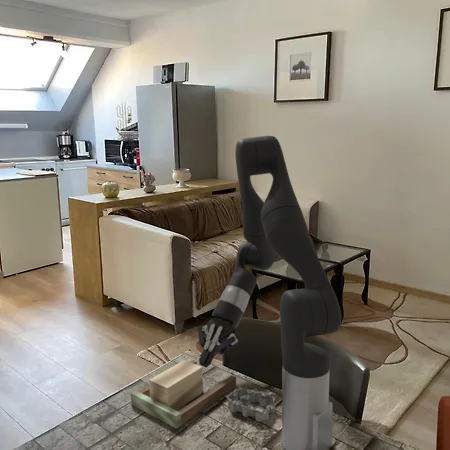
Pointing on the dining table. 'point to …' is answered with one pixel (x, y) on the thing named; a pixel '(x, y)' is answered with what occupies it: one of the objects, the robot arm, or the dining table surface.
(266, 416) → the egg carton
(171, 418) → the wooden tray frame
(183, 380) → the maple block
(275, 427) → the dining table surface
